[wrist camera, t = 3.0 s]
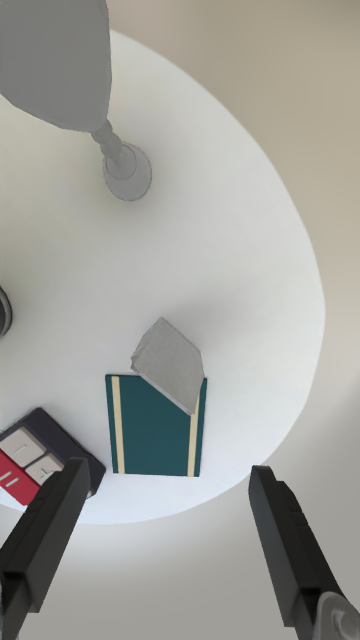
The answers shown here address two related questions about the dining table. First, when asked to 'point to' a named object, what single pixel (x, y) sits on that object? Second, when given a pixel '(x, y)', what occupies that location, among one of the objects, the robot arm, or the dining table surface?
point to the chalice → (68, 78)
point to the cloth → (152, 429)
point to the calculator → (38, 456)
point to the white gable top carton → (170, 365)
